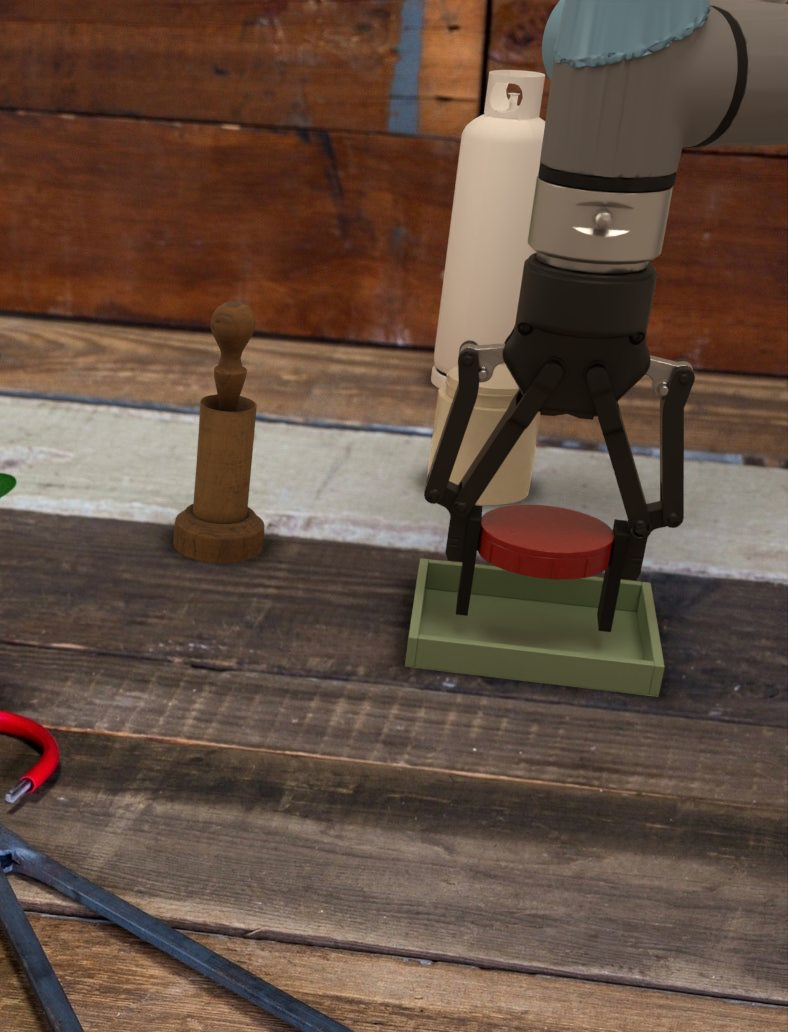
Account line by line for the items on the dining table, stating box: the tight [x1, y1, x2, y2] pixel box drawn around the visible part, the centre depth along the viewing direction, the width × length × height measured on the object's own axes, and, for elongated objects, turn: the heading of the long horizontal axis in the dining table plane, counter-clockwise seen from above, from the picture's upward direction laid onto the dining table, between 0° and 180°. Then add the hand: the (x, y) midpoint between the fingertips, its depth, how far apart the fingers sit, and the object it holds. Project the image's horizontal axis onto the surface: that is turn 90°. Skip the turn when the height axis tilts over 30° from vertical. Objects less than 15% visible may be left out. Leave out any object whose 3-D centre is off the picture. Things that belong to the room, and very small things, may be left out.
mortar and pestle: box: [172, 301, 265, 564], centre depth 118 cm, size 7×6×18 cm
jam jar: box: [426, 365, 542, 506], centre depth 132 cm, size 8×8×10 cm
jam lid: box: [477, 504, 614, 580], centre depth 106 cm, size 8×8×2 cm
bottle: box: [430, 69, 546, 389], centre depth 152 cm, size 8×8×28 cm
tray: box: [404, 557, 666, 698], centre depth 109 cm, size 15×13×2 cm
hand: (532, 614), depth 108 cm, fingers closed on jam lid, 8 cm apart
